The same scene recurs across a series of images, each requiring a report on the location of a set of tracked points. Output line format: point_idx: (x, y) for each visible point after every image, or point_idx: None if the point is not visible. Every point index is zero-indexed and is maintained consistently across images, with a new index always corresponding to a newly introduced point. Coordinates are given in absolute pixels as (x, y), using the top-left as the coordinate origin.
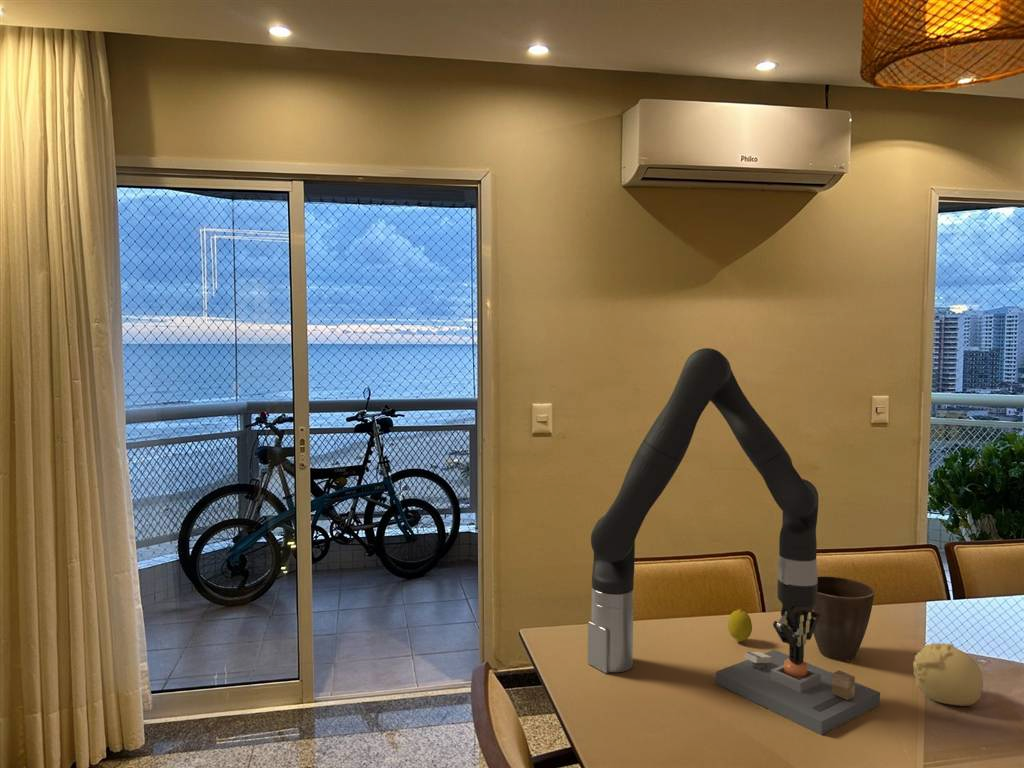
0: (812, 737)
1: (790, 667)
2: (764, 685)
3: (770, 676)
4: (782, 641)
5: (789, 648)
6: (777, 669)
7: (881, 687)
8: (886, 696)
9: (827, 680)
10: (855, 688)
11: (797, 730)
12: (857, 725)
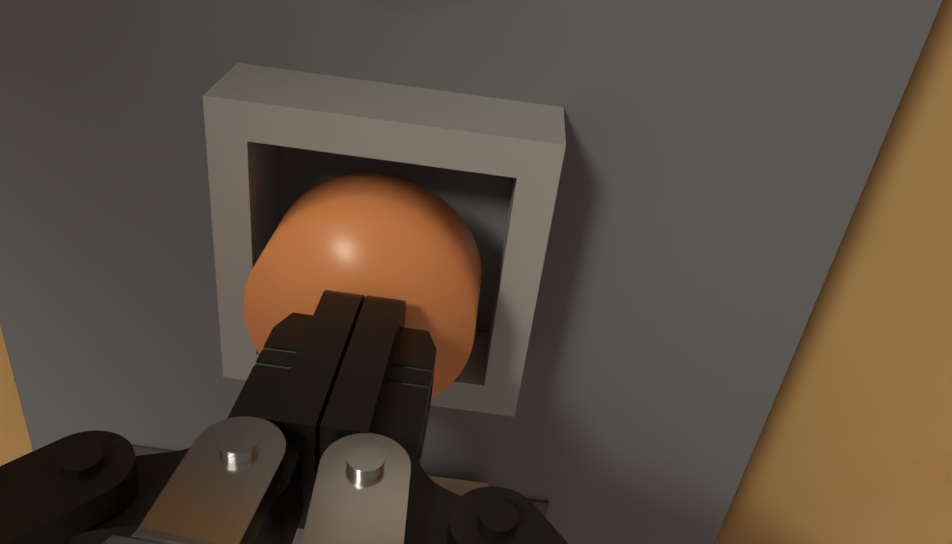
0: (29, 441)
1: (246, 315)
2: (85, 86)
3: (293, 28)
4: (63, 440)
5: (236, 400)
6: (275, 136)
7: (946, 493)
8: (821, 536)
9: (619, 373)
10: (632, 517)
11: (7, 374)
12: None
